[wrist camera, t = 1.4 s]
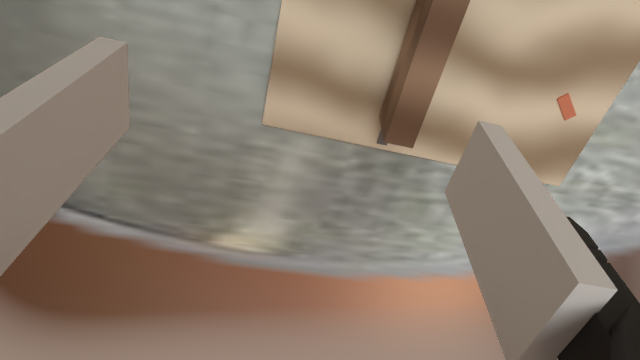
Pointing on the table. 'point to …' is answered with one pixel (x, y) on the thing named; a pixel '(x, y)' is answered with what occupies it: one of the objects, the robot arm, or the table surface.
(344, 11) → the dial board
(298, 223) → the table surface
